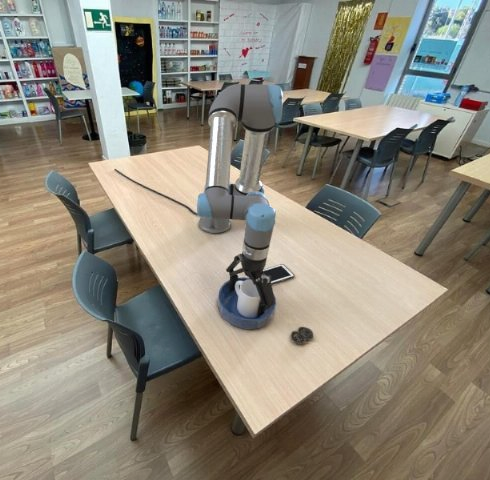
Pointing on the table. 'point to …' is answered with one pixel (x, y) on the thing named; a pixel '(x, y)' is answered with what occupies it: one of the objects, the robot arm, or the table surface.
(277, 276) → the cell phone
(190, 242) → the table surface
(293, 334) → the corroded twin loop
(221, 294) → the bowl
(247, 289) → the mug
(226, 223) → the robot arm
